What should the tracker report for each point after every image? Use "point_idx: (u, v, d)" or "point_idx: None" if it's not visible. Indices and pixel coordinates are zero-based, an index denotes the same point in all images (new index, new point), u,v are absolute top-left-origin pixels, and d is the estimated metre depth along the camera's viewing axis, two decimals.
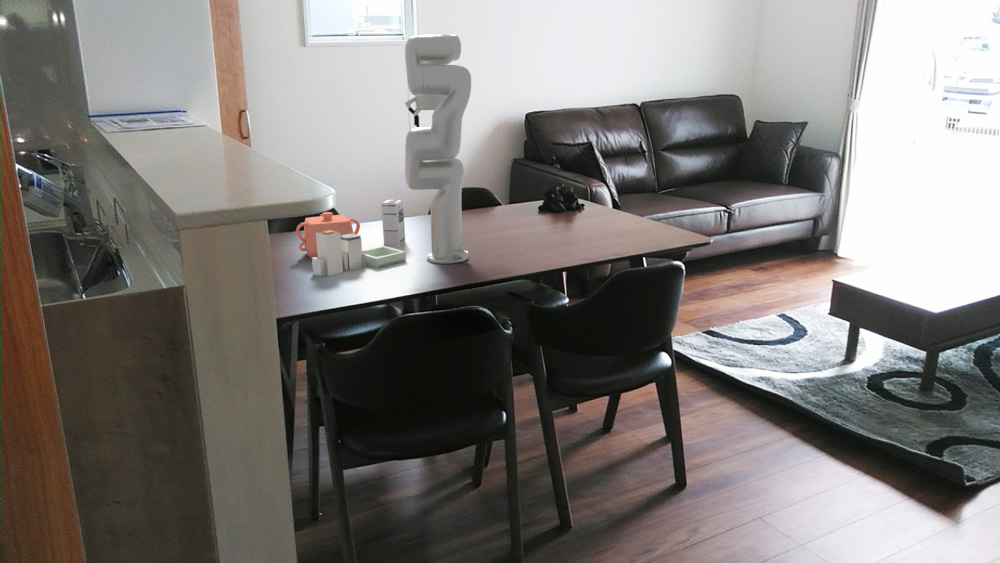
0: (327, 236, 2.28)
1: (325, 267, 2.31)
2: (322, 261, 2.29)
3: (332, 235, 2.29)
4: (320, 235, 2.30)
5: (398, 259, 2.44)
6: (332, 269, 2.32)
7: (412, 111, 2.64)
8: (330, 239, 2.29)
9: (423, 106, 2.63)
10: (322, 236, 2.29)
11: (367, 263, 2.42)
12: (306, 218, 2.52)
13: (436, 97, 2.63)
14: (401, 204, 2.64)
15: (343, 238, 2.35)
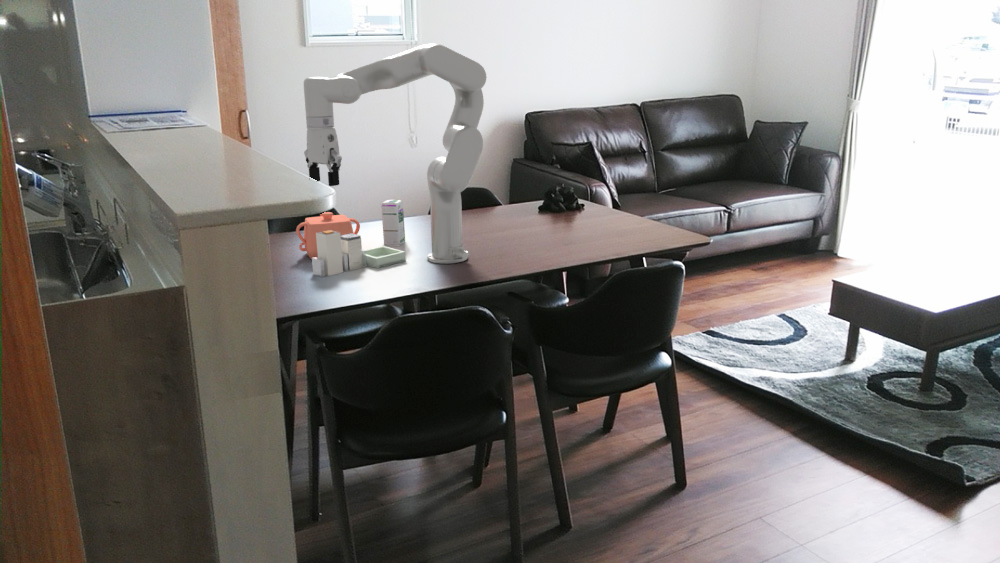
0: (327, 236, 2.28)
1: (325, 267, 2.31)
2: (322, 261, 2.29)
3: (332, 235, 2.30)
4: (320, 235, 2.30)
5: (398, 259, 2.44)
6: (332, 269, 2.32)
7: None
8: (330, 239, 2.29)
9: None
10: (322, 236, 2.29)
11: (367, 263, 2.42)
12: (306, 218, 2.52)
13: None
14: (401, 204, 2.64)
15: (343, 238, 2.35)
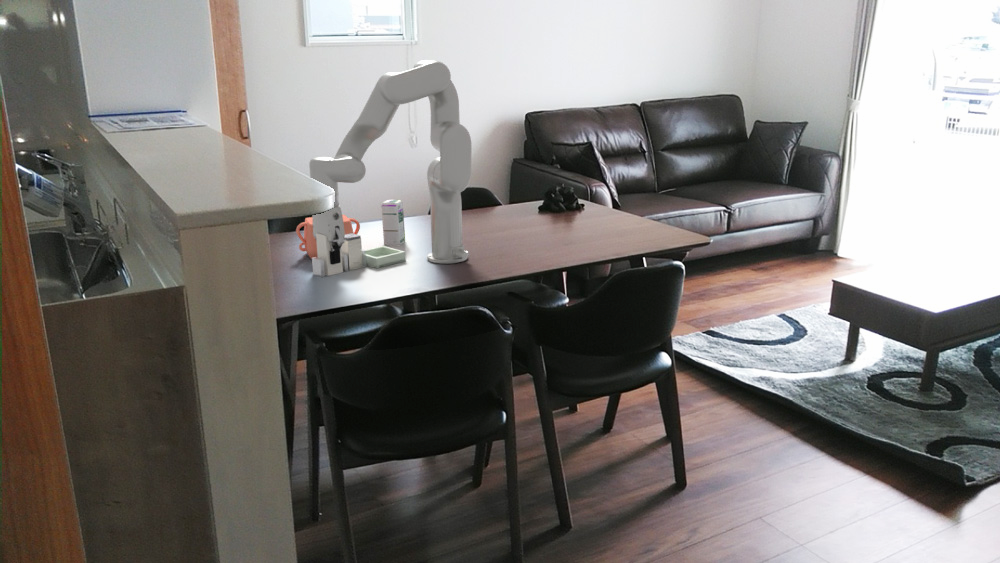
0: None
1: (325, 267, 2.31)
2: (322, 261, 2.29)
3: None
4: (320, 235, 2.30)
5: (398, 259, 2.44)
6: (332, 269, 2.32)
7: None
8: None
9: None
10: (322, 236, 2.29)
11: (367, 263, 2.42)
12: (306, 218, 2.52)
13: None
14: (401, 204, 2.64)
15: None
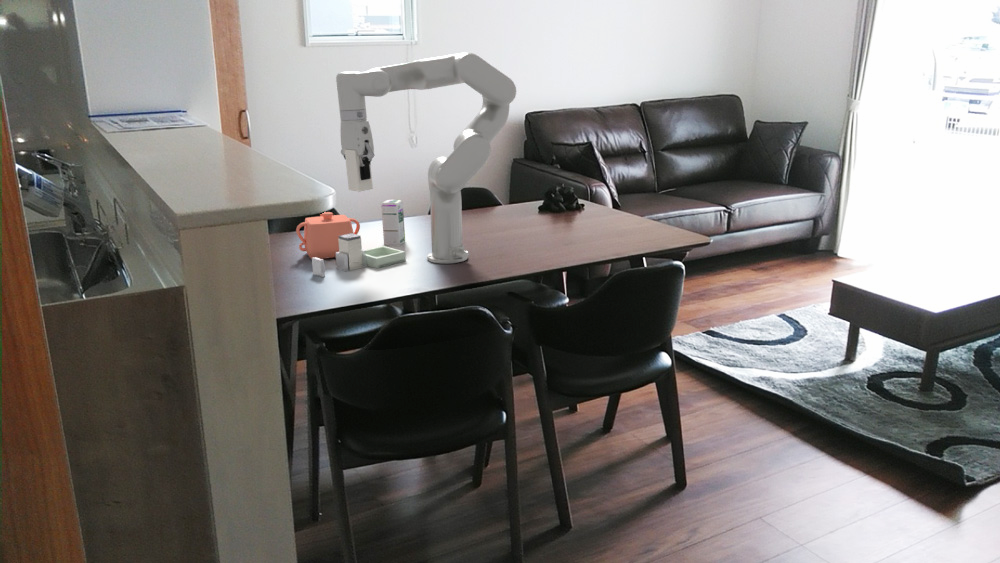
0: None
1: (355, 183, 2.32)
2: (322, 261, 2.29)
3: None
4: (349, 151, 2.30)
5: (398, 259, 2.44)
6: (362, 185, 2.32)
7: None
8: None
9: None
10: (351, 152, 2.29)
11: (367, 263, 2.42)
12: (306, 218, 2.52)
13: None
14: (401, 204, 2.64)
15: (343, 238, 2.35)
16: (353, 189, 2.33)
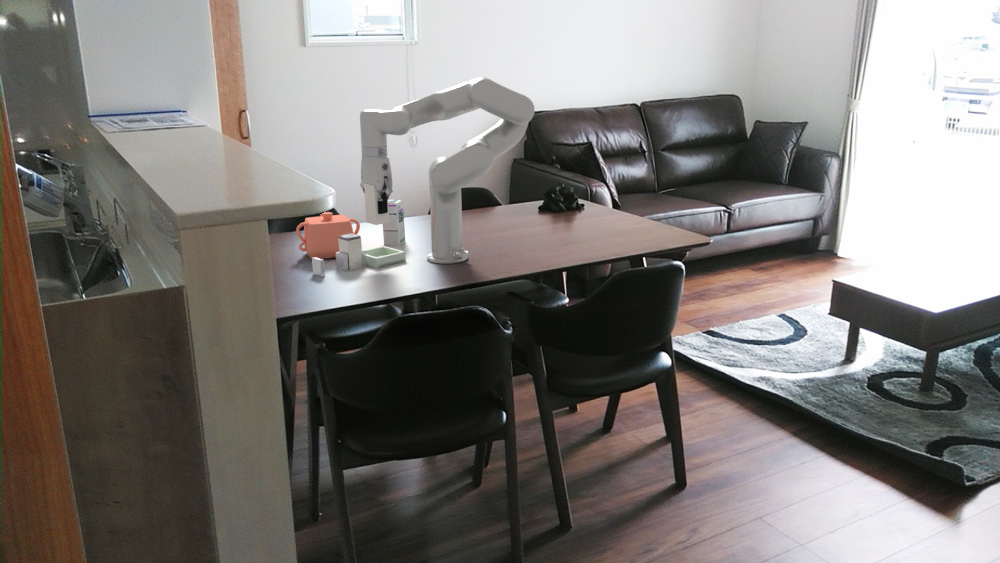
0: None
1: (373, 216, 2.39)
2: (322, 261, 2.29)
3: None
4: (368, 185, 2.37)
5: (398, 259, 2.44)
6: (379, 218, 2.39)
7: None
8: None
9: None
10: (370, 186, 2.37)
11: (367, 263, 2.42)
12: (306, 218, 2.52)
13: None
14: (401, 204, 2.64)
15: (343, 238, 2.35)
16: (370, 222, 2.41)
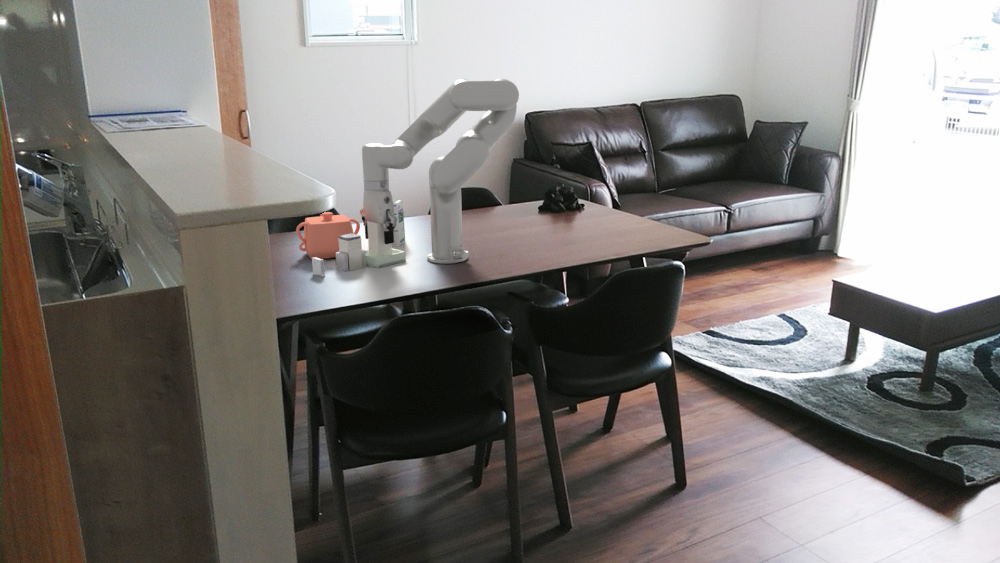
0: (378, 224, 2.39)
1: (376, 253, 2.42)
2: (322, 261, 2.29)
3: None
4: (371, 223, 2.41)
5: (398, 259, 2.44)
6: (382, 255, 2.43)
7: None
8: (381, 227, 2.40)
9: None
10: (373, 224, 2.40)
11: (367, 263, 2.42)
12: (306, 218, 2.52)
13: None
14: (401, 204, 2.64)
15: (343, 238, 2.35)
16: None
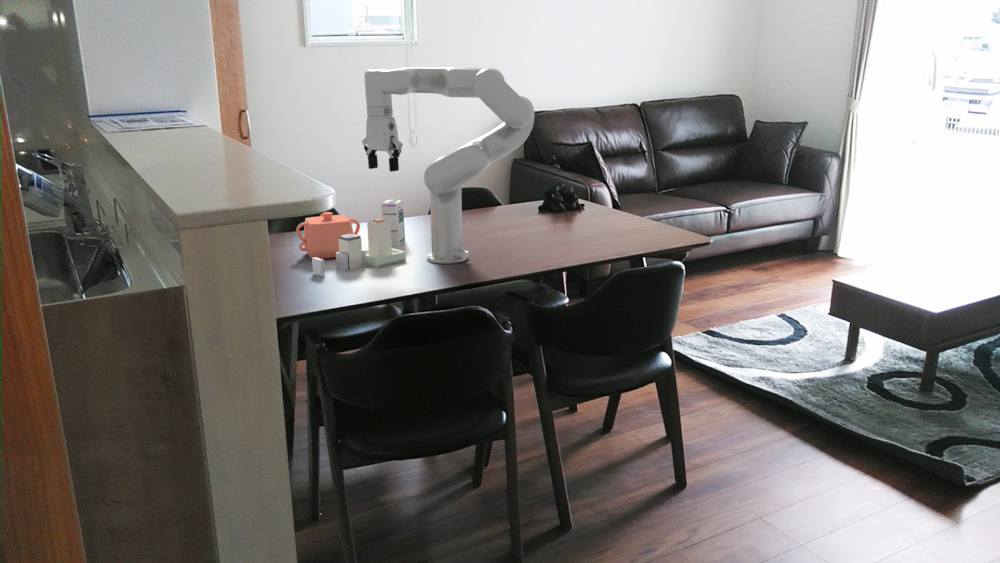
0: (378, 224, 2.39)
1: (376, 253, 2.42)
2: (322, 261, 2.29)
3: (383, 223, 2.40)
4: (371, 223, 2.41)
5: (398, 259, 2.44)
6: (382, 255, 2.43)
7: None
8: (381, 227, 2.40)
9: None
10: (373, 224, 2.40)
11: (367, 263, 2.42)
12: (306, 218, 2.52)
13: None
14: (401, 204, 2.64)
15: (343, 238, 2.35)
16: None
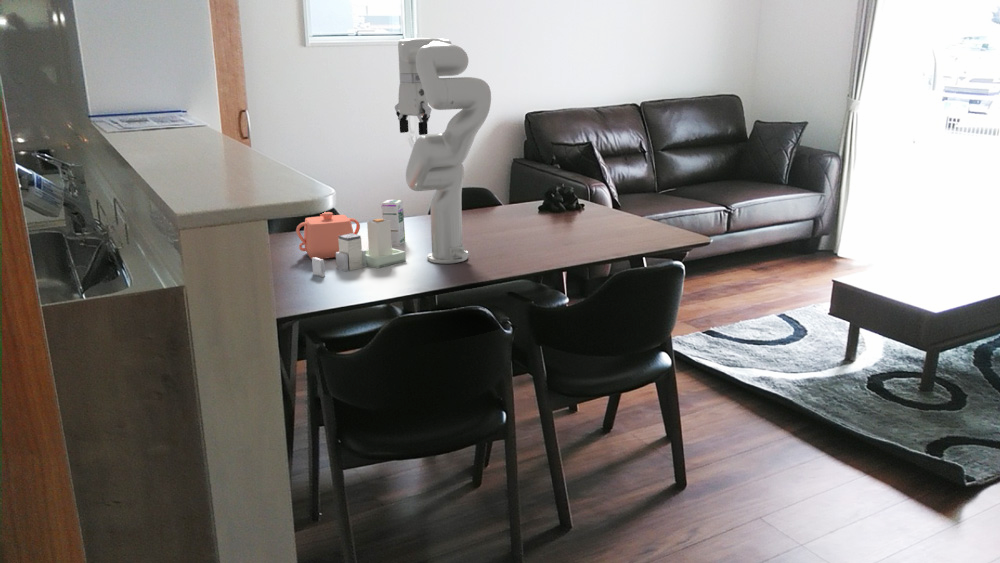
0: (378, 224, 2.39)
1: (376, 253, 2.42)
2: (322, 261, 2.29)
3: (383, 223, 2.40)
4: (371, 223, 2.41)
5: (398, 259, 2.44)
6: (382, 255, 2.43)
7: None
8: (381, 227, 2.40)
9: None
10: (373, 224, 2.40)
11: (367, 263, 2.42)
12: (306, 218, 2.52)
13: None
14: (401, 204, 2.64)
15: (343, 238, 2.35)
16: None
